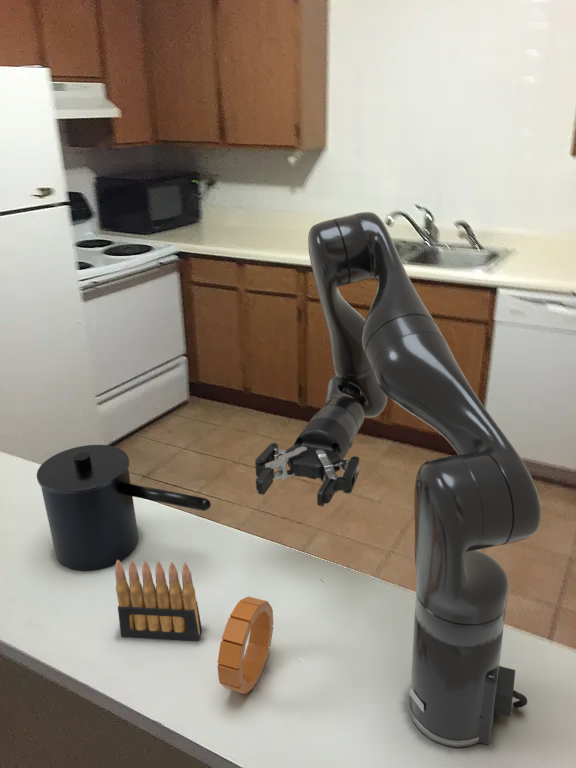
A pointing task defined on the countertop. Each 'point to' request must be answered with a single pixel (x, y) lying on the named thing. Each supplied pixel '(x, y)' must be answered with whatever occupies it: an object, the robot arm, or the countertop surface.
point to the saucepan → (96, 505)
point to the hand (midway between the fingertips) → (289, 494)
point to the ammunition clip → (157, 604)
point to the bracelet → (230, 660)
